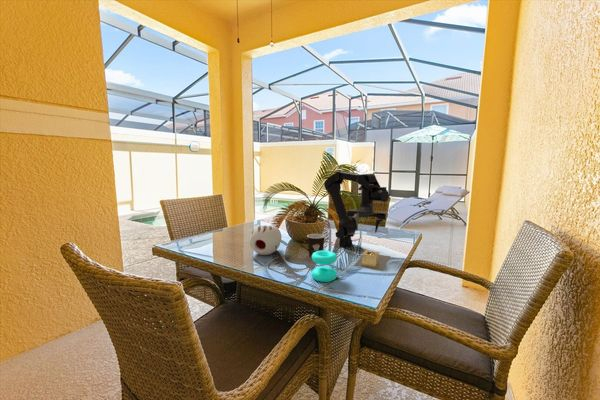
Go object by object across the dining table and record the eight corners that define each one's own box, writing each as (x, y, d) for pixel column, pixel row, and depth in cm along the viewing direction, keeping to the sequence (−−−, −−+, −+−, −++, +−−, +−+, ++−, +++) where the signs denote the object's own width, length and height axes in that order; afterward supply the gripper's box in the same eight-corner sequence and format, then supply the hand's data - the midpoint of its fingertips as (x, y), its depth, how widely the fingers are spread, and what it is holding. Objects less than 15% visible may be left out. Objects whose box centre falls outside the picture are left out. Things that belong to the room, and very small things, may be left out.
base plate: (382, 274, 113) (382, 261, 112) (353, 269, 118) (353, 256, 118) (390, 259, 130) (391, 248, 130) (365, 255, 136) (365, 244, 135)
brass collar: (375, 267, 116) (376, 256, 115) (361, 265, 118) (362, 254, 118) (378, 263, 121) (379, 252, 120) (365, 261, 124) (365, 250, 123)
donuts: (329, 248, 115) (342, 255, 106) (328, 271, 116) (341, 280, 107) (307, 251, 111) (318, 259, 102) (307, 275, 112) (318, 284, 103)
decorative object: (287, 248, 147) (286, 221, 145) (274, 260, 129) (274, 229, 127) (260, 246, 151) (259, 219, 149) (244, 257, 133) (243, 227, 131)
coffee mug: (326, 254, 137) (327, 234, 136) (320, 259, 130) (321, 239, 128) (305, 251, 142) (305, 232, 141) (298, 256, 135) (298, 236, 133)
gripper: (343, 200, 130) (342, 233, 132) (383, 203, 121) (382, 237, 123) (350, 198, 140) (349, 228, 142) (388, 200, 131) (387, 232, 133)
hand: (366, 231), depth 135 cm, fingers open, 9 cm apart
